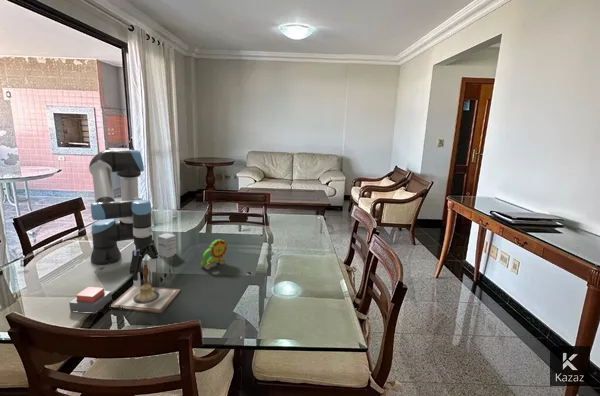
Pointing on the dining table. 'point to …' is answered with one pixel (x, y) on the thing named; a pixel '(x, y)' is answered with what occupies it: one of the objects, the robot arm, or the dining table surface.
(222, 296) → the dining table surface
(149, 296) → the hand bell
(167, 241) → the supplement box
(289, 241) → the dining table surface
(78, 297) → the button
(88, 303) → the button housing
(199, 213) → the dining table surface
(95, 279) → the dining table surface
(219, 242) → the toy lion
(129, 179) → the robot arm
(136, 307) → the drawing board
